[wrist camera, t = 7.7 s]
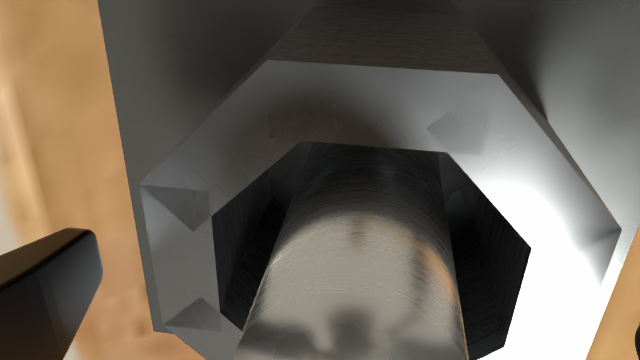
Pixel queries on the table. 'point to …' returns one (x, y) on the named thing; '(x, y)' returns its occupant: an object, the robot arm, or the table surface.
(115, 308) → the table surface
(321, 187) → the piston post
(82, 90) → the table surface
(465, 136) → the octagonal metal collar
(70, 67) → the table surface
